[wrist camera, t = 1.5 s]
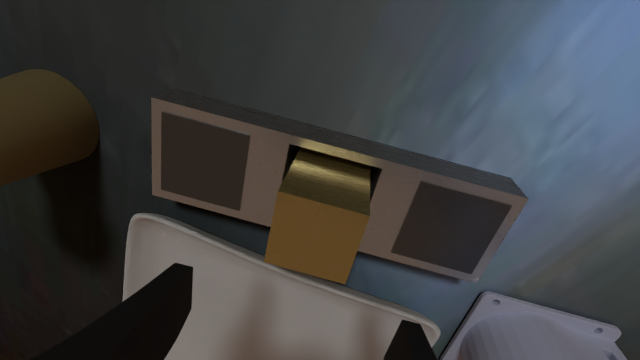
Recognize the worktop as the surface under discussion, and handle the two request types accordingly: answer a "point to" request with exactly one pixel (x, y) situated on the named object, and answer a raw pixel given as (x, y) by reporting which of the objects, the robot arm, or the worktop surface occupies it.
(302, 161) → the yellow rectangular block
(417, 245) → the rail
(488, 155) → the worktop surface
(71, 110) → the cork
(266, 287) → the salad plate
